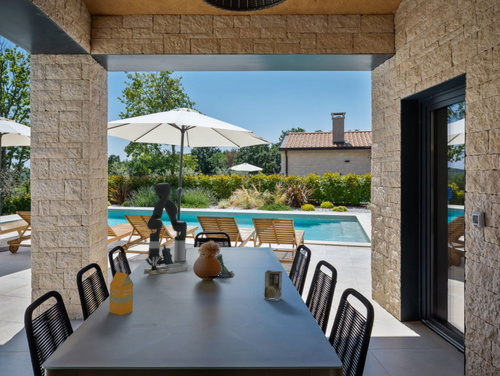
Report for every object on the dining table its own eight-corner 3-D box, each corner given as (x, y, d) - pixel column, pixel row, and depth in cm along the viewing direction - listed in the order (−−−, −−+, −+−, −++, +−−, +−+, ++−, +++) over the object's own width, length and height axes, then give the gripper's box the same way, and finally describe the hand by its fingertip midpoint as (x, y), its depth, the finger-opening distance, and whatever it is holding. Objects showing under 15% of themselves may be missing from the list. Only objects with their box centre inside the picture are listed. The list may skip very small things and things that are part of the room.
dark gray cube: (164, 270, 281) (165, 265, 281) (167, 271, 278) (167, 266, 278) (160, 271, 279) (160, 265, 279) (162, 272, 276) (162, 266, 276)
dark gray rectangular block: (160, 271, 279) (160, 265, 279) (162, 272, 276) (162, 266, 275) (155, 271, 276) (155, 266, 276) (157, 273, 273) (157, 267, 273)
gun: (150, 247, 296) (168, 243, 299) (155, 268, 297) (174, 263, 299) (149, 248, 294) (168, 243, 296) (154, 269, 295) (173, 264, 297)
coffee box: (281, 298, 223) (282, 271, 222) (278, 301, 216) (279, 273, 216) (266, 296, 225) (267, 269, 225) (263, 299, 219) (264, 272, 219)
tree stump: (240, 275, 274) (237, 253, 270) (220, 287, 261) (216, 263, 257) (224, 269, 287) (221, 247, 283) (203, 280, 274) (200, 257, 270)
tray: (178, 266, 294) (178, 263, 294) (187, 270, 284) (187, 266, 284) (160, 269, 284) (160, 265, 284) (168, 273, 274) (168, 269, 274)
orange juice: (120, 315, 187) (121, 275, 187) (108, 311, 192) (109, 272, 191) (132, 311, 194) (133, 272, 193) (121, 307, 198) (122, 270, 198)
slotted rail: (161, 270, 282) (161, 266, 282) (167, 272, 275) (167, 269, 275) (144, 272, 273) (144, 269, 273) (149, 275, 266) (149, 271, 266)
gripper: (160, 245, 280) (159, 268, 280) (143, 247, 272) (142, 270, 272) (165, 247, 274) (164, 270, 275) (148, 248, 266) (147, 273, 266)
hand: (153, 270), depth 273 cm, fingers closed
